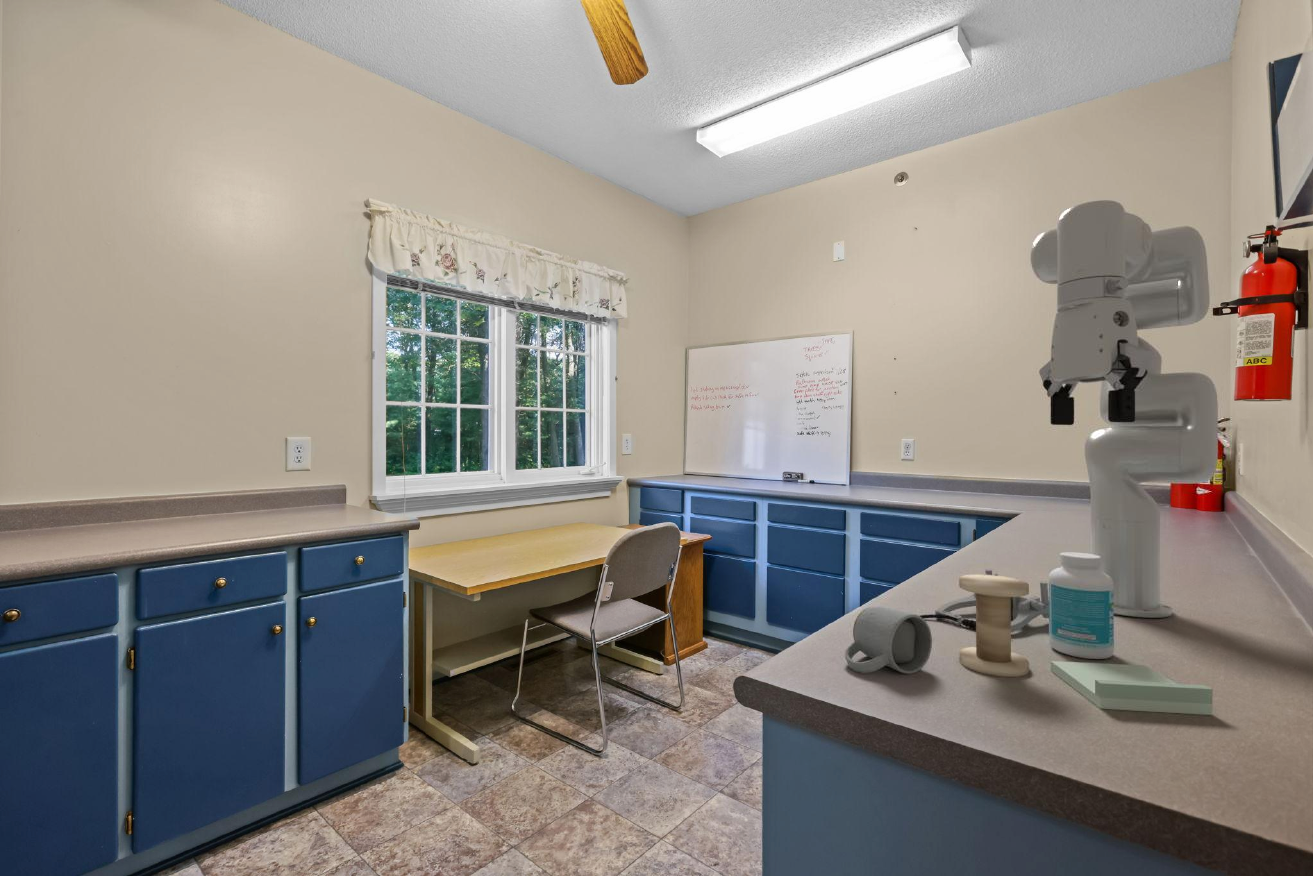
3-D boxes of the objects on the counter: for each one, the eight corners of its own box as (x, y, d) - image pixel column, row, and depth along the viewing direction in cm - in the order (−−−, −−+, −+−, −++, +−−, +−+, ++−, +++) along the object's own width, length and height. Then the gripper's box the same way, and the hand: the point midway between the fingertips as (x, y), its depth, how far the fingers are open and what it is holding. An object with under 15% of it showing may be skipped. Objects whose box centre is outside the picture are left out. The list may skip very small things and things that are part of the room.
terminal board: (1050, 670, 77) (1050, 648, 77) (1145, 675, 76) (1145, 652, 76) (1100, 708, 67) (1100, 683, 67) (1212, 715, 65) (1212, 689, 65)
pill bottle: (1125, 663, 80) (1125, 561, 80) (1063, 659, 81) (1063, 559, 81) (1096, 644, 87) (1096, 550, 87) (1040, 641, 89) (1039, 549, 89)
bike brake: (984, 600, 108) (907, 634, 99) (981, 563, 108) (904, 594, 98) (1065, 622, 96) (986, 663, 87) (1062, 580, 95) (982, 617, 86)
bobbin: (950, 652, 84) (950, 573, 84) (1012, 655, 83) (1012, 575, 83) (972, 675, 76) (971, 587, 76) (1040, 678, 75) (1040, 590, 75)
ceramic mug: (887, 649, 85) (886, 597, 85) (934, 668, 78) (933, 611, 78) (830, 662, 81) (829, 607, 81) (874, 684, 74) (873, 624, 74)
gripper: (1176, 281, 74) (1176, 421, 73) (1066, 312, 91) (1065, 426, 91) (1120, 278, 73) (1120, 420, 73) (1019, 310, 90) (1019, 425, 90)
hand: (1090, 423), depth 82 cm, fingers open, 9 cm apart
